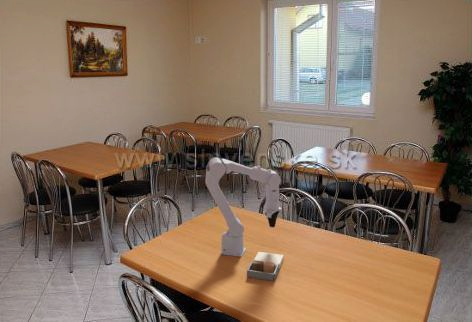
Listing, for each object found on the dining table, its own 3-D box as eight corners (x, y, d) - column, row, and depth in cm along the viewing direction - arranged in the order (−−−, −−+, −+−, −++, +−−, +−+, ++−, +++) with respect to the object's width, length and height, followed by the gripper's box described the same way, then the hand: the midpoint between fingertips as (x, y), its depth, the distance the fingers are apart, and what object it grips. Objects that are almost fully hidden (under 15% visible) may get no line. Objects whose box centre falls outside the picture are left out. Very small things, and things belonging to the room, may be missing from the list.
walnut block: (254, 268, 162) (252, 272, 160) (254, 260, 161) (252, 263, 159) (263, 270, 161) (262, 273, 158) (263, 261, 160) (262, 264, 157)
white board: (253, 265, 165) (253, 261, 164) (258, 255, 173) (258, 251, 173) (279, 269, 161) (279, 265, 161) (283, 259, 170) (283, 255, 169)
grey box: (247, 277, 157) (247, 270, 156) (253, 265, 165) (253, 259, 164) (274, 281, 153) (274, 274, 152) (279, 269, 161) (279, 263, 161)
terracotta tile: (265, 270, 161) (263, 273, 158) (265, 261, 160) (263, 264, 157) (274, 271, 159) (273, 275, 157) (274, 263, 158) (273, 266, 156)
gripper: (277, 204, 166) (277, 234, 170) (284, 193, 179) (284, 221, 183) (261, 203, 168) (261, 232, 172) (269, 192, 182) (269, 219, 185)
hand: (272, 226), depth 177 cm, fingers closed
